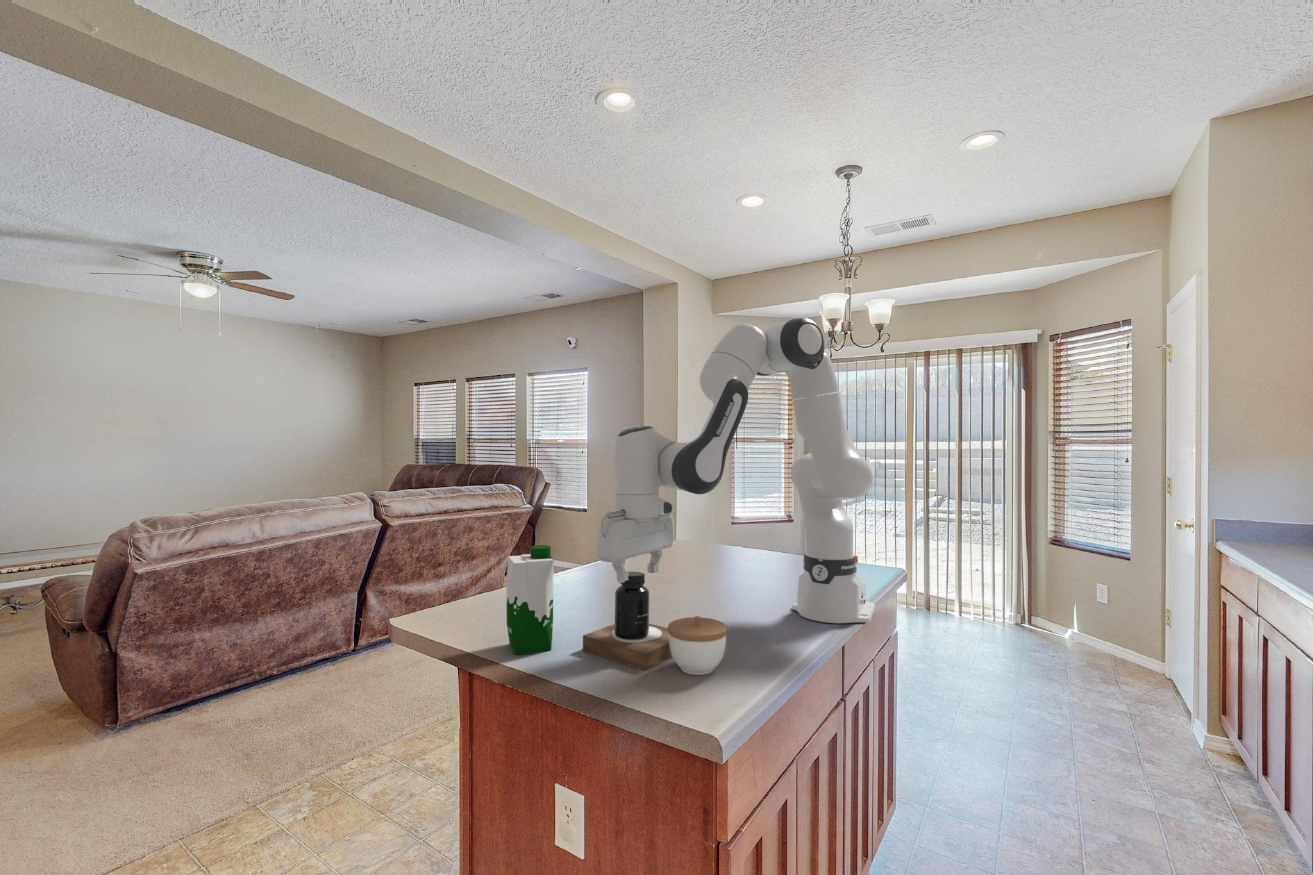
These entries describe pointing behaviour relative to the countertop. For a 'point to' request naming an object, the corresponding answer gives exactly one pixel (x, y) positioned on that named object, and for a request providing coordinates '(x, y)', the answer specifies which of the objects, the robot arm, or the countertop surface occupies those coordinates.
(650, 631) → the brown flat wooden block
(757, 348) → the robot arm
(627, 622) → the supplement bottle
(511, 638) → the milk carton
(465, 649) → the countertop surface
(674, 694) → the countertop surface
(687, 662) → the lidded jar
